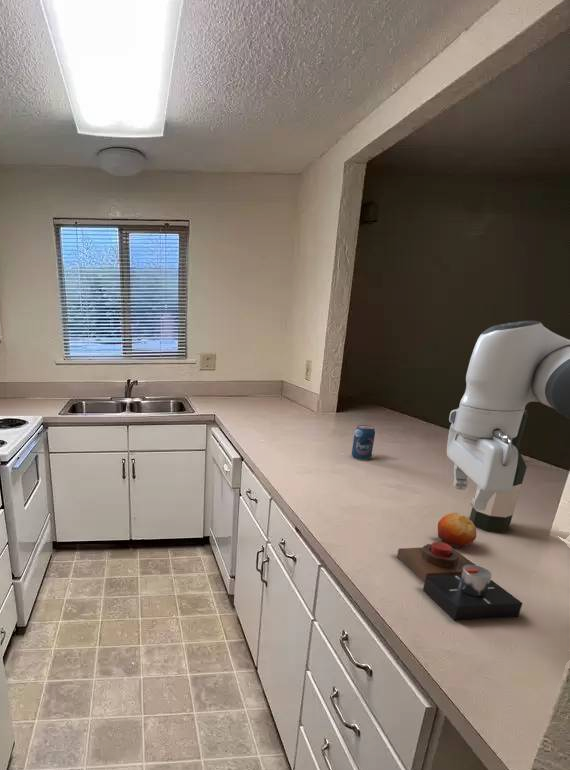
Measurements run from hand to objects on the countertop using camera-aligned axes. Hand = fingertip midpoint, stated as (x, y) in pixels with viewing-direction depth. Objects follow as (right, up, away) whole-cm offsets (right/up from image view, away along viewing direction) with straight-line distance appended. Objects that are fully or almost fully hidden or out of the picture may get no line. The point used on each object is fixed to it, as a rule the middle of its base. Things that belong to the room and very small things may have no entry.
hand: (467, 497), depth 78 cm
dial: (+2, -17, +2) cm, 18 cm away
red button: (+4, -12, +14) cm, 19 cm away
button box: (+4, -16, +15) cm, 22 cm away
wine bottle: (+28, -9, +33) cm, 45 cm away
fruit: (+14, -12, +25) cm, 31 cm away
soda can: (+20, +11, +86) cm, 89 cm away
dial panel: (+2, -20, +3) cm, 21 cm away
